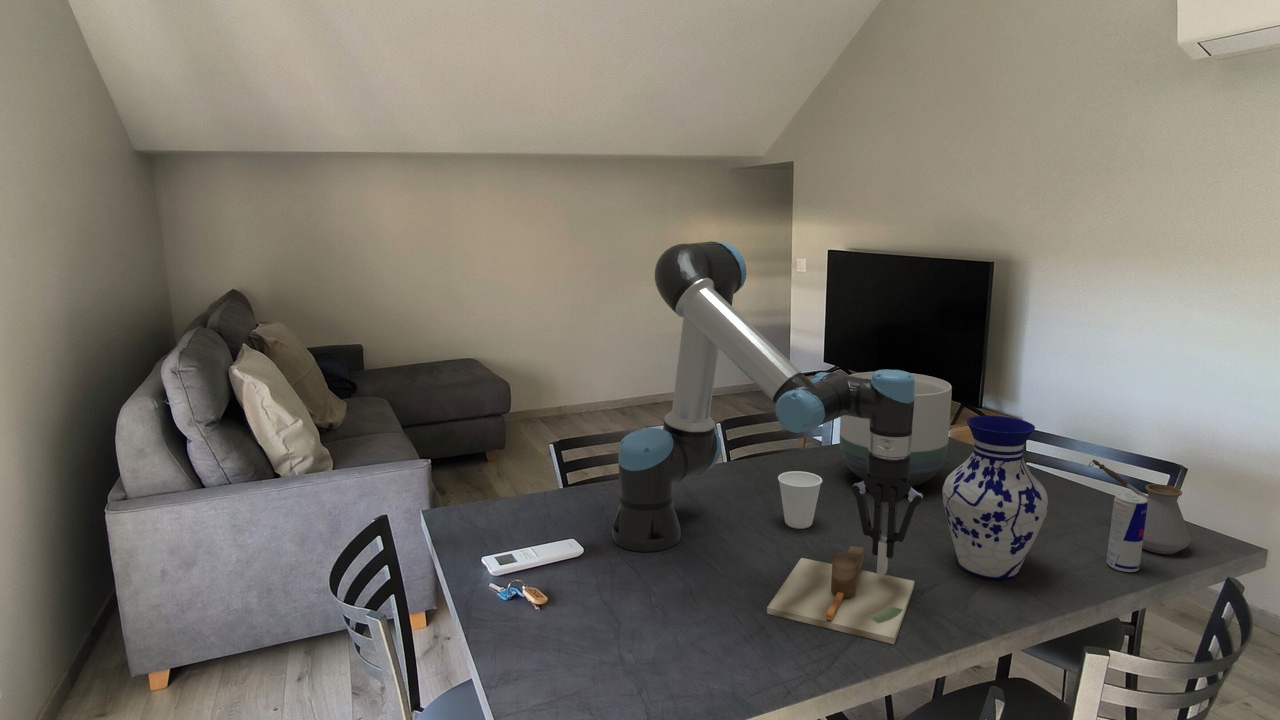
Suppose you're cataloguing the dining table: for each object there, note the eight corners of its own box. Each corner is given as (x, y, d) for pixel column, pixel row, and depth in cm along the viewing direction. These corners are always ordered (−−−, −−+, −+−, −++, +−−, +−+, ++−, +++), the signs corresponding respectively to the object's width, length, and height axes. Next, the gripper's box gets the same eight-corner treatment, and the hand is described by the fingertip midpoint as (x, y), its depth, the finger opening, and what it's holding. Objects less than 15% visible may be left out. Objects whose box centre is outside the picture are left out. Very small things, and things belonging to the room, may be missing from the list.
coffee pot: (1200, 550, 160) (1210, 482, 157) (1170, 563, 155) (1180, 493, 152) (1098, 515, 178) (1105, 454, 175) (1068, 525, 173) (1075, 462, 170)
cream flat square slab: (766, 613, 137) (767, 607, 137) (801, 563, 156) (801, 557, 156) (894, 644, 127) (894, 637, 127) (914, 586, 146) (914, 580, 146)
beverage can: (1128, 576, 149) (1137, 504, 146) (1100, 564, 154) (1108, 494, 151) (1145, 569, 152) (1154, 498, 149) (1116, 558, 157) (1125, 489, 154)
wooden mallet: (841, 623, 131) (843, 586, 129) (815, 617, 133) (817, 580, 131) (867, 568, 150) (869, 536, 149) (845, 563, 152) (846, 531, 151)
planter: (832, 463, 216) (836, 370, 211) (931, 467, 212) (938, 372, 207) (844, 499, 190) (849, 393, 185) (956, 503, 186) (965, 396, 181)
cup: (821, 534, 170) (823, 487, 167) (775, 531, 172) (777, 484, 169) (820, 517, 179) (821, 472, 177) (777, 514, 181) (778, 469, 179)
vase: (1035, 600, 141) (1051, 444, 135) (928, 574, 151) (938, 428, 145) (1044, 559, 157) (1059, 418, 151) (947, 539, 166) (957, 406, 161)
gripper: (849, 454, 141) (843, 572, 146) (923, 465, 135) (914, 587, 140) (857, 443, 147) (851, 556, 152) (929, 452, 142) (920, 570, 146)
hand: (881, 571), depth 146 cm, fingers closed
